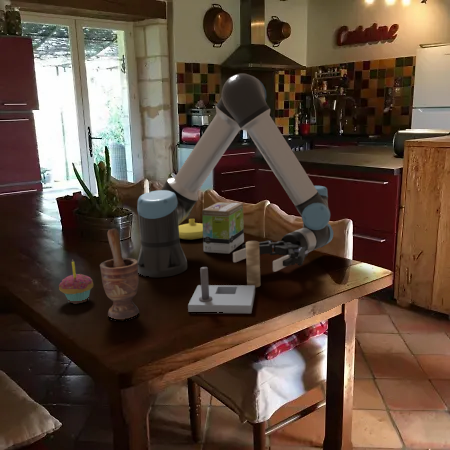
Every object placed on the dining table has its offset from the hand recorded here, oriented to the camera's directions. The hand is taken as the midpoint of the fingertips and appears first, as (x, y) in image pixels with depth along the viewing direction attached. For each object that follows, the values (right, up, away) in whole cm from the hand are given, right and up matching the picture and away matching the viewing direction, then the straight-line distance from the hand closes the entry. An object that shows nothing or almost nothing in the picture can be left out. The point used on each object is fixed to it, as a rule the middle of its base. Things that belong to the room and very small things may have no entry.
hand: (253, 261), depth 128 cm
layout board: (-8, -9, -8) cm, 15 cm away
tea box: (-8, +2, +40) cm, 40 cm away
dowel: (0, -7, +2) cm, 7 cm away
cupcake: (-46, -10, -3) cm, 47 cm away
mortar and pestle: (-33, -12, -12) cm, 37 cm away
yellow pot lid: (-20, +5, +55) cm, 59 cm away
